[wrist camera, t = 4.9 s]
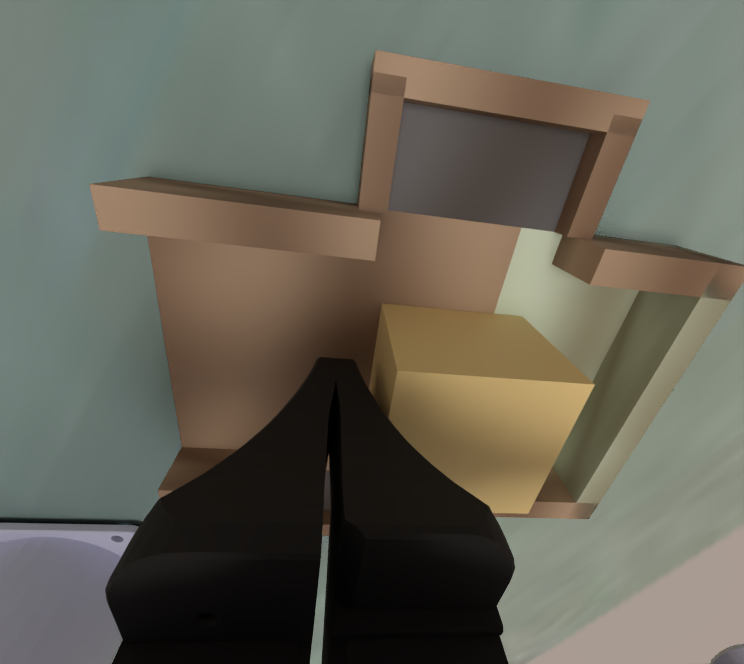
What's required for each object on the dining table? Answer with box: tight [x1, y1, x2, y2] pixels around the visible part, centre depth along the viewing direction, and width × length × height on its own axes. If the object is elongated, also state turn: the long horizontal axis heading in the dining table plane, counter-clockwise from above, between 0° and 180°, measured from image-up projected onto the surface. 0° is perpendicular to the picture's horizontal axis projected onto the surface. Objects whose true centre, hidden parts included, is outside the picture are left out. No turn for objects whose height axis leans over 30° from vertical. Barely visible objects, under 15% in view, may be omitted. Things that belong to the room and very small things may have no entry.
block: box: [369, 303, 595, 514], centre depth 11 cm, size 5×5×4 cm
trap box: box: [90, 50, 744, 535], centre depth 12 cm, size 17×18×2 cm
